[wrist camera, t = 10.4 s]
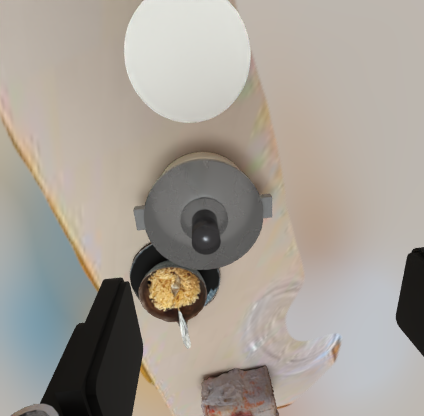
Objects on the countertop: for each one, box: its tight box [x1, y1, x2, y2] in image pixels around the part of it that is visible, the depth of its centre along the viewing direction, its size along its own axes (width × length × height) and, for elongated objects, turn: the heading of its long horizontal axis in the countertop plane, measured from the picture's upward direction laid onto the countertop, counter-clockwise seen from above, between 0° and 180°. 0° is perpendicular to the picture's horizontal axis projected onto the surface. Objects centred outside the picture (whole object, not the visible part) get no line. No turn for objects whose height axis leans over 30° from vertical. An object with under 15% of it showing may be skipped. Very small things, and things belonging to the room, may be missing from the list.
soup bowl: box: [130, 243, 220, 349], centre depth 50 cm, size 15×16×7 cm
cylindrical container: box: [124, 0, 251, 123], centre depth 29 cm, size 7×7×25 cm
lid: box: [144, 158, 263, 270], centre depth 38 cm, size 15×15×7 cm
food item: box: [201, 366, 279, 416], centre depth 59 cm, size 14×8×10 cm, turn 102°
